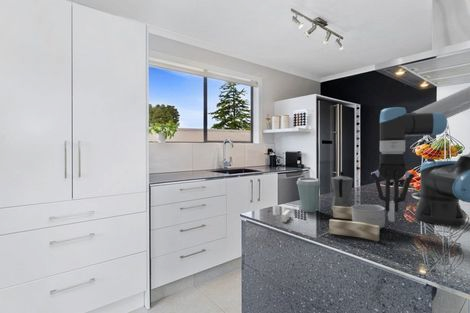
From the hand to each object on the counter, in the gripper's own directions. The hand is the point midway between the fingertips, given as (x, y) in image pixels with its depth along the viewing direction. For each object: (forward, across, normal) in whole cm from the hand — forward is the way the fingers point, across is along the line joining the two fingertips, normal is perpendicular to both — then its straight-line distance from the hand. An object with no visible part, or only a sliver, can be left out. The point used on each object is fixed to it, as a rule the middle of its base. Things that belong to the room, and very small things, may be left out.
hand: (391, 220), depth 88 cm
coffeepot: (+4, -16, +21) cm, 27 cm away
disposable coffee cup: (+4, -30, +17) cm, 35 cm away
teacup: (+4, -6, 0) cm, 7 cm away
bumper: (+4, -37, 0) cm, 37 cm away
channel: (+4, -12, 0) cm, 13 cm away
